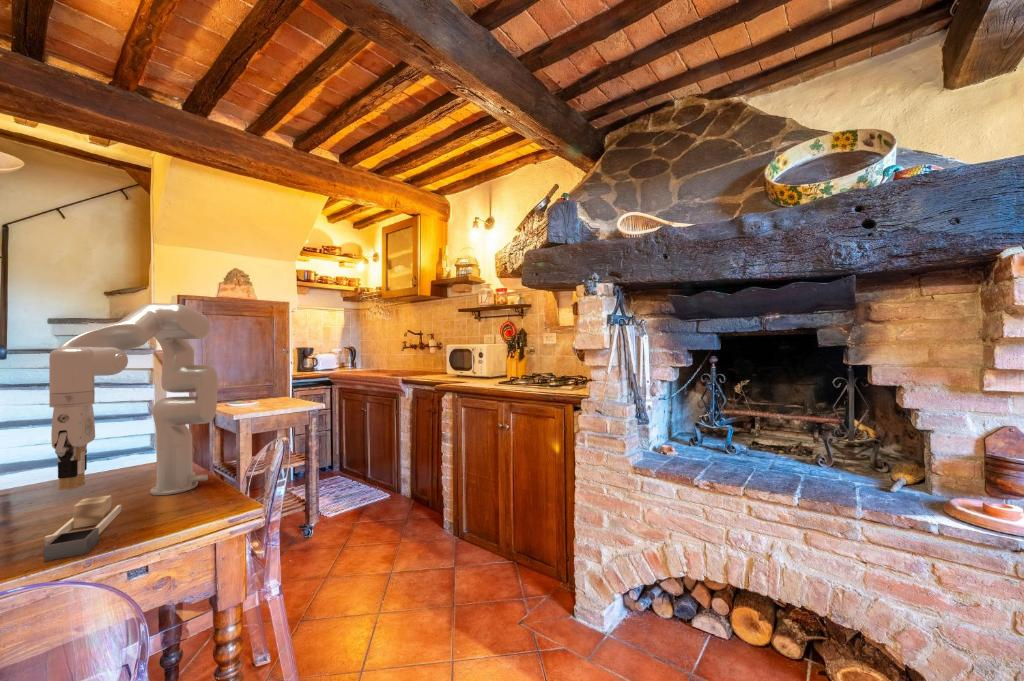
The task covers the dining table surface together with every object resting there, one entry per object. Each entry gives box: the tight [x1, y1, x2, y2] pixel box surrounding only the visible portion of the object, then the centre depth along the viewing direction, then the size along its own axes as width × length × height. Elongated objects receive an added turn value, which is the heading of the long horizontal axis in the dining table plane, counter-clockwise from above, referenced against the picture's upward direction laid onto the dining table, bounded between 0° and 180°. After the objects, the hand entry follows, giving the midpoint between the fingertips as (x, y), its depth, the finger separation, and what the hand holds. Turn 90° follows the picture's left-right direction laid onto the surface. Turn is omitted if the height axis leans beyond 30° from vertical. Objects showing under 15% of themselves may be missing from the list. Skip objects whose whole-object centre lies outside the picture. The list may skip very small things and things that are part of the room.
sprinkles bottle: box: [58, 445, 86, 491], centre depth 100 cm, size 5×5×14 cm
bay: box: [44, 504, 122, 546], centre depth 112 cm, size 9×21×3 cm, turn 29°
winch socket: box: [43, 527, 100, 562], centre depth 100 cm, size 7×7×4 cm
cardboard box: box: [73, 494, 112, 529], centre depth 116 cm, size 6×6×6 cm
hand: (72, 473), depth 100 cm, fingers closed on sprinkles bottle, 4 cm apart
